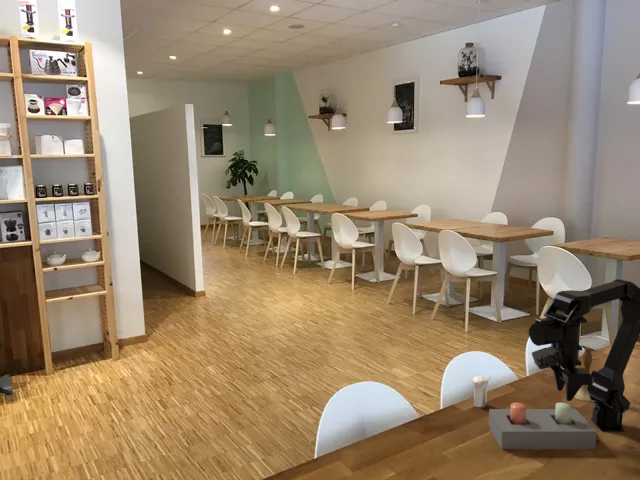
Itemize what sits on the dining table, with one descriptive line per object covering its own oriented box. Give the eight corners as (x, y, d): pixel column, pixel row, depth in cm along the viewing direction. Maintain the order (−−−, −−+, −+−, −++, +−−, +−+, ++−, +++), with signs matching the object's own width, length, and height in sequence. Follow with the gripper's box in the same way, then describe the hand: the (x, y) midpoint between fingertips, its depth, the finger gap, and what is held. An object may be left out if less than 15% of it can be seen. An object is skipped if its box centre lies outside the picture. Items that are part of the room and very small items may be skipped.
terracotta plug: (522, 419, 144) (523, 402, 144) (527, 427, 140) (528, 409, 140) (507, 419, 145) (508, 402, 144) (512, 427, 141) (513, 409, 140)
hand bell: (592, 405, 160) (596, 355, 157) (565, 395, 166) (568, 347, 164) (605, 396, 165) (608, 348, 162) (578, 387, 171) (581, 341, 169)
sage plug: (567, 419, 144) (568, 402, 143) (573, 427, 140) (574, 409, 139) (552, 419, 144) (553, 402, 143) (558, 427, 140) (559, 409, 139)
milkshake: (491, 409, 158) (492, 378, 157) (472, 408, 159) (473, 377, 158) (489, 402, 163) (490, 372, 161) (471, 401, 164) (472, 371, 162)
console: (574, 425, 148) (575, 408, 147) (595, 449, 136) (596, 431, 136) (488, 425, 149) (489, 409, 149) (501, 449, 138) (502, 431, 137)
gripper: (524, 328, 148) (521, 380, 150) (550, 353, 129) (546, 412, 132) (564, 327, 147) (561, 380, 150) (596, 353, 129) (592, 412, 131)
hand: (564, 395), depth 141 cm, fingers open, 6 cm apart
